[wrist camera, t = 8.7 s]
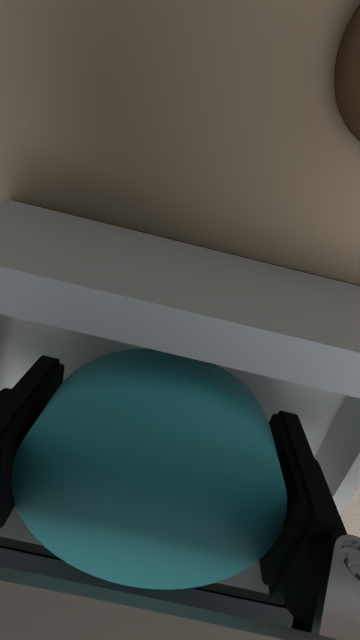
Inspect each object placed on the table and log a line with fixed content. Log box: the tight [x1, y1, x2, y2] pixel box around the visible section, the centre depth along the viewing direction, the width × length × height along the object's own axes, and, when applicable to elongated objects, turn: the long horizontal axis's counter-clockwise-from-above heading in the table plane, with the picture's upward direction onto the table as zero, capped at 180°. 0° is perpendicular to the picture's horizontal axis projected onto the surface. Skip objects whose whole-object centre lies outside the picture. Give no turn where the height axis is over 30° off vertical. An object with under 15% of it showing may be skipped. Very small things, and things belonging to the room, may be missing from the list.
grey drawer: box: [0, 199, 360, 606], centre depth 12 cm, size 13×15×6 cm
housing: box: [0, 546, 290, 627], centre depth 16 cm, size 14×17×7 cm
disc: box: [11, 348, 287, 590], centre depth 10 cm, size 7×7×2 cm
